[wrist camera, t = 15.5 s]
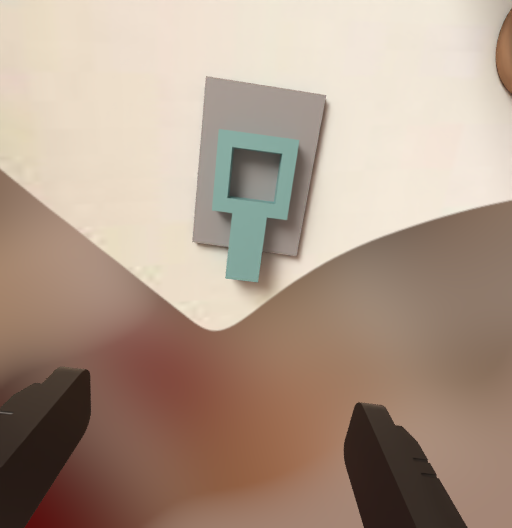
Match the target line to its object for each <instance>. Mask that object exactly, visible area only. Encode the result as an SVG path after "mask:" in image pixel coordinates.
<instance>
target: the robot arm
mask: <svg viewBox="0 0 512 528" xmlns="http://www.w3.org/2000/svg"><path fill="white" fill-rule="evenodd" d="M90 396H91V394H90V373H89V371H88V370H86V369H77V368H69V367H59V368H57V369H56V370H55V371H54V372H53V373H52V374H51V375H50V376H49V377H48V378H47V379H46V380H45V381H44V382H43V383H42V384H40V383H34V384H32V385H30V386H28V387H27V388H25V389H23V390H21V391H20V392H18V393H16V394H14V395H13V396H12V397H11V398H10V399H9V400H8V401H7V402H6V403H5V404H4V405H3V406H1V408H0V528H24V527H25V526H26V524H27V523H28V521H29V520H30V518H31V516H32V515H33V513H34V512H35V510H36V509H37V507H38V506H39V504H40V502H41V501H42V499H43V498H44V496H45V495H46V493H47V491H48V490H49V488H50V487H51V485H52V484H53V482H54V481H55V479H56V477H57V476H58V474H59V473H60V471H61V469H62V468H63V466H64V465H65V463H66V462H67V460H68V459H69V457H70V455H71V454H72V452H73V451H74V449H75V448H76V446H77V445H78V443H79V441H80V440H81V438H82V437H83V435H84V433H85V431H86V429H87V426H88V423H89V420H90V415H91V400H90V399H91V398H90ZM344 460H345V465H346V469H347V472H348V475H349V479H350V482H351V485H352V489H353V492H354V495H355V498H356V502H357V505H358V509H359V512H360V516H361V519H362V522H363V526H364V528H467V526H466V524H465V523H464V521H463V519H462V518H461V516H460V514H459V512H458V511H457V509H456V507H455V505H454V504H453V502H452V500H451V499H450V497H449V495H448V494H447V492H446V490H445V488H444V487H443V485H442V483H441V482H440V480H439V479H438V478H437V477H436V473H435V471H434V470H433V468H432V466H431V464H430V463H428V461H427V460H428V459H427V458H426V456H425V454H424V452H423V451H422V449H421V447H420V445H419V444H418V442H417V441H416V440H415V439H414V438H413V437H412V436H411V435H410V434H409V433H408V432H407V431H406V430H405V429H404V428H403V427H402V426H396V425H395V424H394V422H393V420H392V419H391V417H390V415H389V413H388V411H387V409H386V408H385V407H384V406H382V405H376V404H367V403H357V404H356V405H355V407H354V410H353V414H352V417H351V421H350V425H349V428H348V432H347V435H346V438H345V442H344Z"/></svg>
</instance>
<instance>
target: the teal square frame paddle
mask: <svg viewBox="0 0 512 528" xmlns="http://www.w3.org/2000/svg"><path fill="white" fill-rule="evenodd" d="M298 146H299V140H296V139H289V138H281V137H274V136H267V135H260V134H252V133H245V132H238V131H230V130H223V129H219V133H218V144H217V156H216V168H215V180H214V191H213V203H212V211H220V212H228V213H232V220H231V229H230V239H229V249H228V258H227V268H226V277H225V278H226V279H235V280H243V281H252V282H258V278H259V271H260V264H261V256H262V249H263V242H264V235H265V227H266V220H267V218H275V219H283V220H287V216H288V210H289V204H290V197H291V191H292V184H293V178H294V172H295V165H296V159H297V153H298ZM234 148H236V149H243V150H250V151H258V152H265V153H273V154H280V162H279V169H278V176H277V183H276V190H275V198H274V202H272V201H264V200H256V199H249V198H241V197H233V196H229V192H230V182H231V172H232V162H233V152H234Z"/></svg>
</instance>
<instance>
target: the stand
mask: <svg viewBox="0 0 512 528" xmlns="http://www.w3.org/2000/svg"><path fill="white" fill-rule="evenodd" d="M496 63H497V69H498V73H499V76H500V79H501V81H502V82H503V84H504V86H505V87H506V88H507V90H508V91H509V92H510V93H511V94H512V9H511V10H510V12H509V13H508V15H507V17H506V19H505V21H504V23H503V25H502V28H501V30H500V33H499V37H498V41H497V48H496Z"/></svg>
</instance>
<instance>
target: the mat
mask: <svg viewBox="0 0 512 528" xmlns="http://www.w3.org/2000/svg"><path fill="white" fill-rule="evenodd" d="M325 99H326V95H321V94H315V93H309V92H302V91H296V90H290V89H283V88H277V87H271V86H264V85H258V84H251V83H245V82H239V81H232V80H226V79H220V78H213V77H207V76H206V84H205V96H204V108H203V120H202V132H201V144H200V156H199V169H198V181H197V193H196V205H195V217H194V229H193V241H192V242H196V243H203V244H211V245H218V246H225V247H229V239H230V229H231V220H232V213H228V212H220V211H212V203H213V191H214V180H215V168H216V156H217V144H218V133H219V129H223V130H230V131H238V132H245V133H252V134H260V135H267V136H274V137H281V138H289V139H296V140H299V146H298V153H297V159H296V165H295V172H294V178H293V184H292V191H291V197H290V204H289V210H288V216H287V220H283V219H275V218H267V220H266V227H265V235H264V242H263V249H262V252H270V253H277V254H284V255H292V256H297V251H298V245H299V240H300V234H301V229H302V224H303V218H304V213H305V207H306V202H307V197H308V191H309V186H310V180H311V175H312V170H313V164H314V159H315V153H316V148H317V143H318V137H319V132H320V126H321V121H322V115H323V110H324V105H325ZM279 162H280V154H273V153H265V152H258V151H250V150H243V149H236V148H234V152H233V162H232V172H231V182H230V192H229V196H233V197H241V198H249V199H256V200H264V201H272V202H274V198H275V190H276V183H277V176H278V169H279Z"/></svg>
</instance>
